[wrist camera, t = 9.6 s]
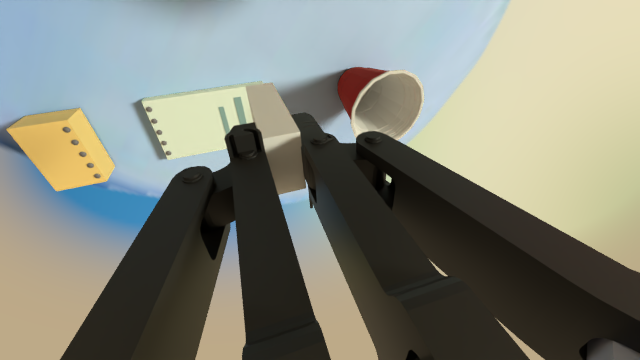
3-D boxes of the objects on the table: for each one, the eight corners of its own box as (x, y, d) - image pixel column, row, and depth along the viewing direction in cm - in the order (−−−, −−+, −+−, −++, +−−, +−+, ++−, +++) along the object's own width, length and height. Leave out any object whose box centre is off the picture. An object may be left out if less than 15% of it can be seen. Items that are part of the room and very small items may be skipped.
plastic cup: (342, 129, 49) (372, 163, 40) (309, 80, 43) (336, 107, 33) (393, 91, 48) (435, 117, 39) (367, 35, 41) (411, 50, 32)
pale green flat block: (143, 98, 37) (141, 102, 36) (261, 80, 40) (263, 84, 39) (169, 154, 42) (167, 160, 41) (271, 135, 46) (273, 140, 45)
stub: (25, 115, 34) (5, 129, 31) (80, 108, 35) (66, 120, 32) (68, 174, 39) (55, 191, 36) (115, 166, 41) (106, 181, 37)
